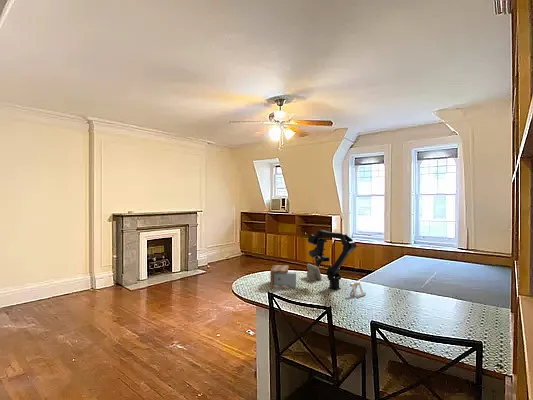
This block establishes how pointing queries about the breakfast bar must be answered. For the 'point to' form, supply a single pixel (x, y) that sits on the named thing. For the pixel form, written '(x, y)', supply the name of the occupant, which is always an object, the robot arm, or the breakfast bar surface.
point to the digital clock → (313, 272)
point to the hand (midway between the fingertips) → (317, 266)
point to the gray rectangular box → (285, 279)
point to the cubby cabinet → (278, 270)
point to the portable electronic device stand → (355, 289)
